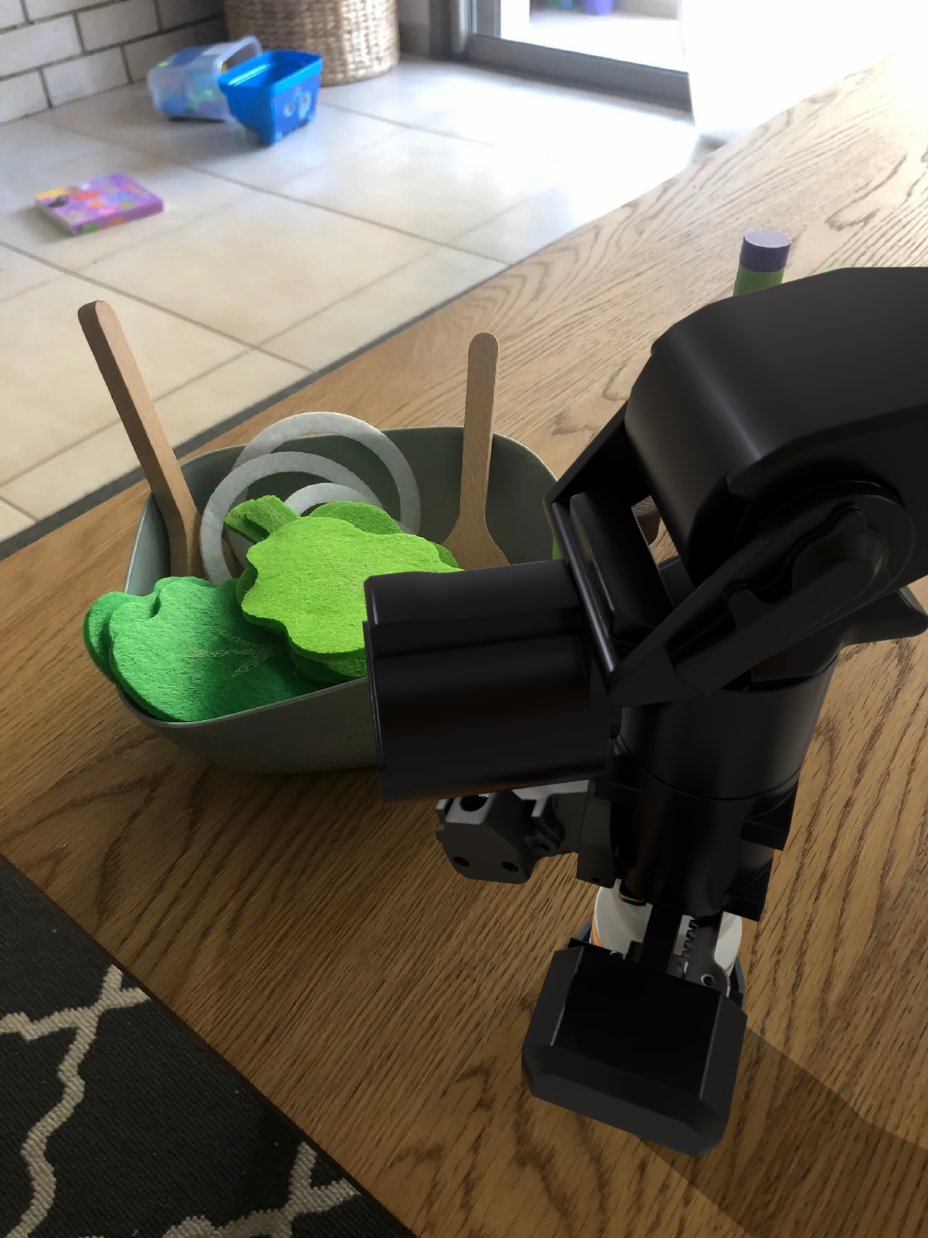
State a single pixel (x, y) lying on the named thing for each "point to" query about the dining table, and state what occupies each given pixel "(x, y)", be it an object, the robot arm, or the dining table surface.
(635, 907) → the pill bottle
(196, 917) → the dining table surface
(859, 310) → the robot arm
